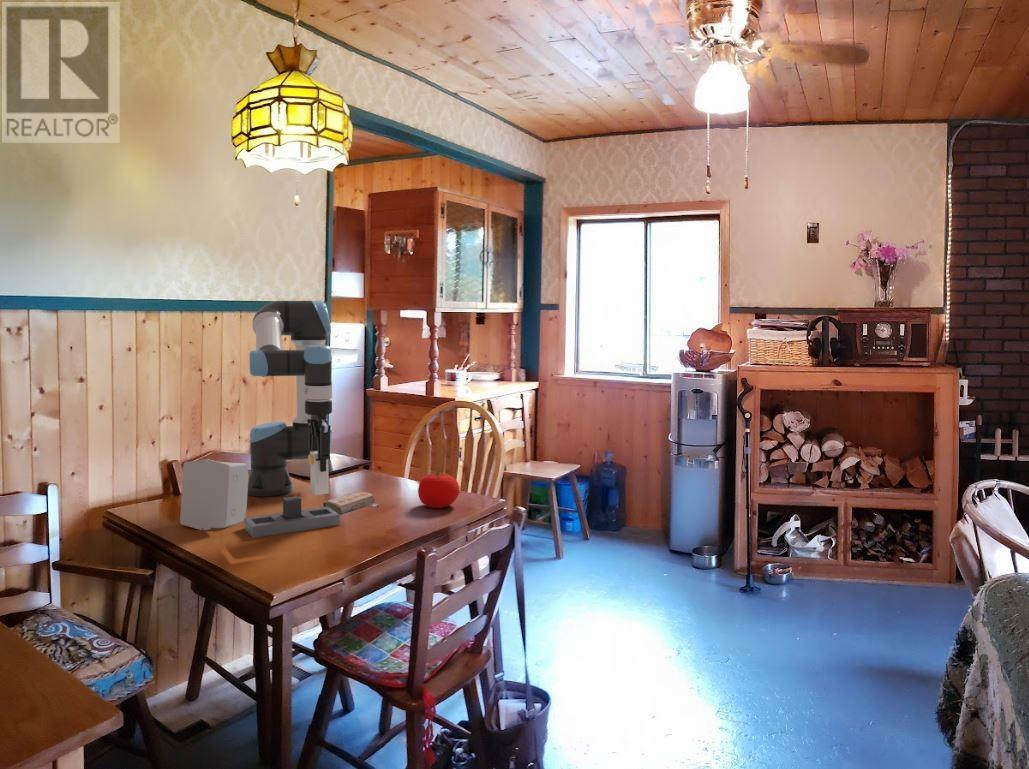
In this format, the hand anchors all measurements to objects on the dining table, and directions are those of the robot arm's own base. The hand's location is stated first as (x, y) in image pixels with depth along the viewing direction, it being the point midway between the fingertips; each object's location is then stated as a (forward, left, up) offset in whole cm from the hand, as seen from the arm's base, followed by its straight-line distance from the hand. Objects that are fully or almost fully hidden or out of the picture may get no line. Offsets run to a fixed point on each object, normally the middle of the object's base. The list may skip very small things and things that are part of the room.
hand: (319, 480), depth 217 cm
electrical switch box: (-18, -24, -14) cm, 33 cm away
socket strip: (0, -8, -13) cm, 16 cm away
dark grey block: (0, -8, -12) cm, 15 cm away
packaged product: (-12, +13, -14) cm, 22 cm away
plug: (0, 0, -4) cm, 4 cm away
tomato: (-2, +39, -14) cm, 41 cm away
